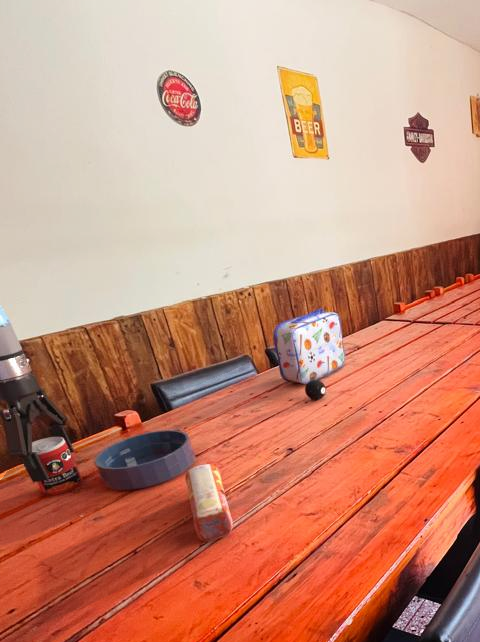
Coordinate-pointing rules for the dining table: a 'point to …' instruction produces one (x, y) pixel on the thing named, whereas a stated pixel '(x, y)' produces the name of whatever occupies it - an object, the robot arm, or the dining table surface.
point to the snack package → (208, 502)
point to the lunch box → (309, 346)
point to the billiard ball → (315, 389)
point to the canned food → (57, 466)
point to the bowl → (145, 459)
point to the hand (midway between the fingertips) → (55, 465)
